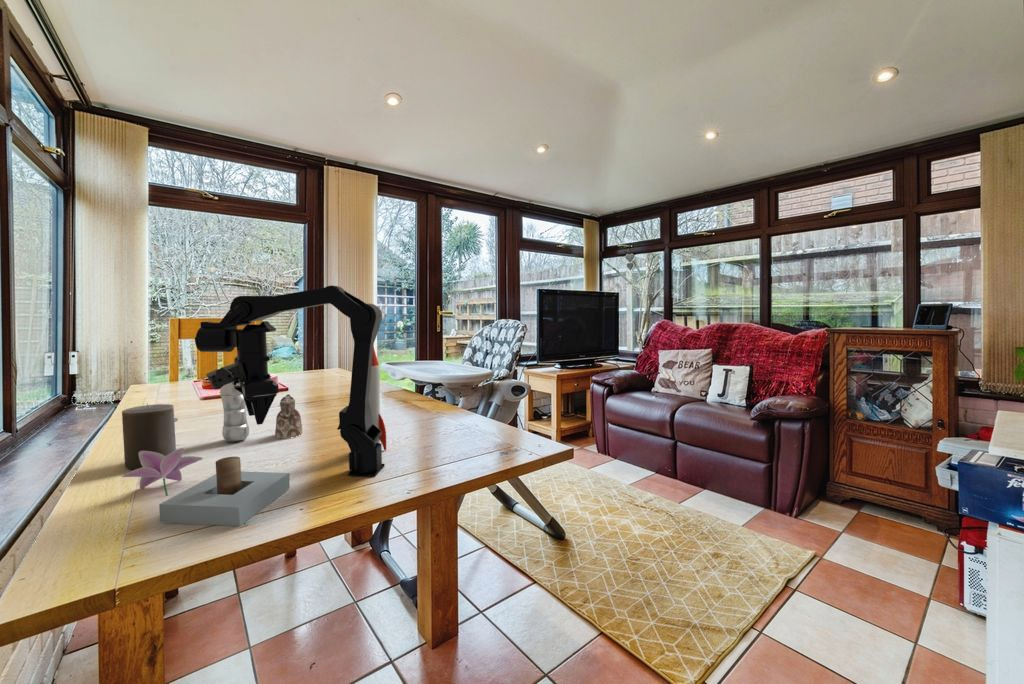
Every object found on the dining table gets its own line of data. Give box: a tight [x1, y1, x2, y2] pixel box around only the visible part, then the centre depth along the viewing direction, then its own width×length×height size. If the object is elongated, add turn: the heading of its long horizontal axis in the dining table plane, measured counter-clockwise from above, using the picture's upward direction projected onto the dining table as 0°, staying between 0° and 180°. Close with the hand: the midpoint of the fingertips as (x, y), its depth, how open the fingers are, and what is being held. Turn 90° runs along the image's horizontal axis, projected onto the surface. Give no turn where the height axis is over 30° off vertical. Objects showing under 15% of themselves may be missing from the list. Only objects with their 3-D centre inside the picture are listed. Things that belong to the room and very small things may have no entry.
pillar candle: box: [121, 402, 177, 470], centre depth 103 cm, size 10×10×15 cm
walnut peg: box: [214, 456, 242, 495], centre depth 82 cm, size 4×4×9 cm
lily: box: [121, 447, 204, 496], centre depth 88 cm, size 12×12×10 cm
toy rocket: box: [369, 346, 387, 451], centre depth 112 cm, size 6×6×30 cm
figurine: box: [274, 394, 303, 439], centre depth 124 cm, size 7×7×12 cm
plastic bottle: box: [219, 382, 250, 443], centre depth 119 cm, size 6×7×20 cm
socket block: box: [158, 470, 291, 527], centre depth 82 cm, size 15×15×4 cm
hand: (255, 419), depth 95 cm, fingers open, 9 cm apart
